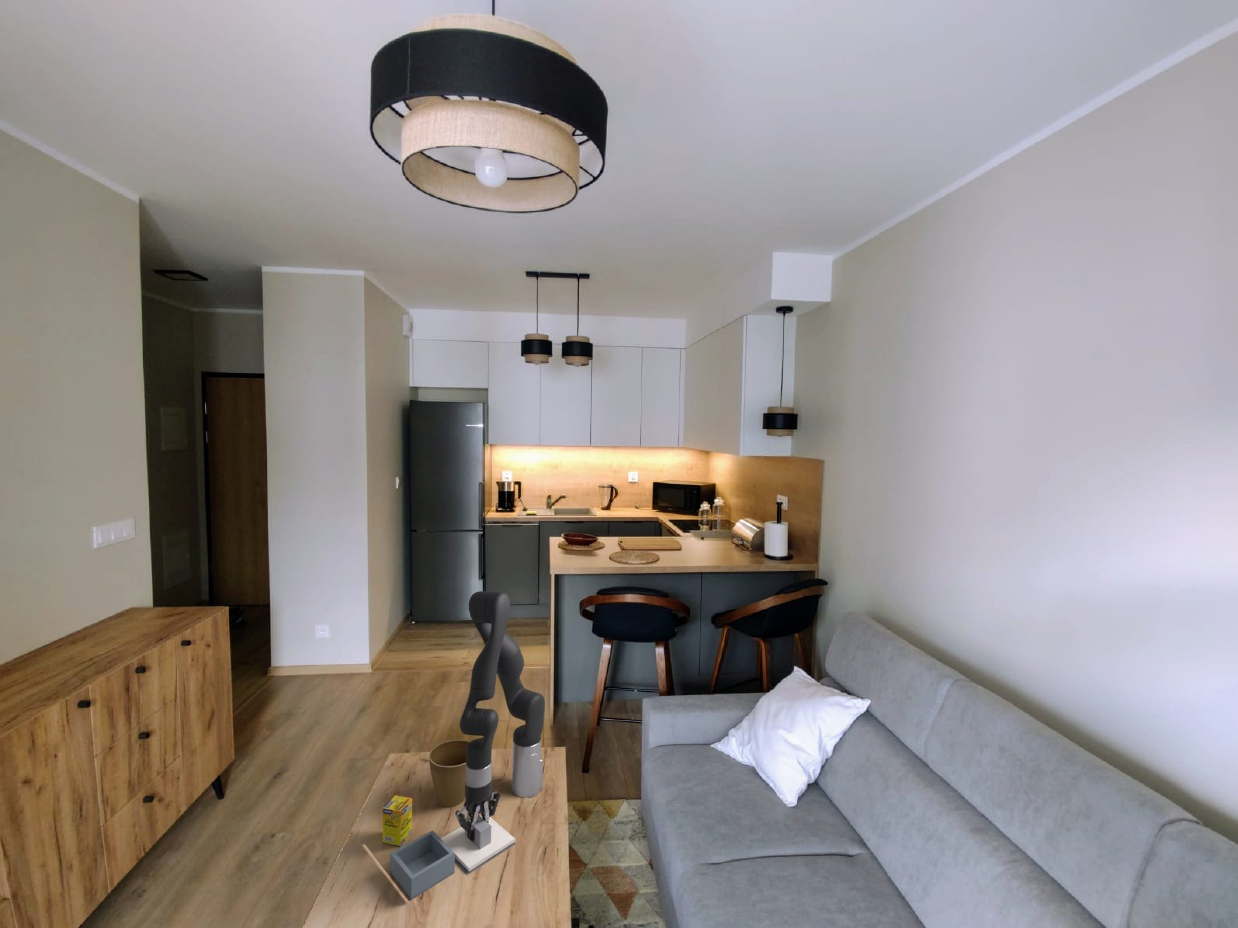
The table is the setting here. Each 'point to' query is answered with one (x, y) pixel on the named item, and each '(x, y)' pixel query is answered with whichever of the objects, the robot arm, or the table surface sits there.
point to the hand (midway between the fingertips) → (477, 835)
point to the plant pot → (449, 771)
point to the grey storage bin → (422, 864)
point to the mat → (483, 862)
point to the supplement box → (397, 821)
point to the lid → (478, 842)
